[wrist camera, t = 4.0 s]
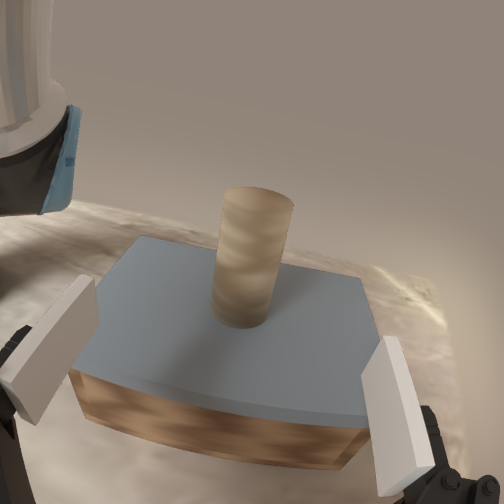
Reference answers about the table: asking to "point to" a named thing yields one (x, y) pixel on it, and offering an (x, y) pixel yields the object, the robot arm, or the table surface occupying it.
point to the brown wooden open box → (215, 428)
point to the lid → (235, 323)
